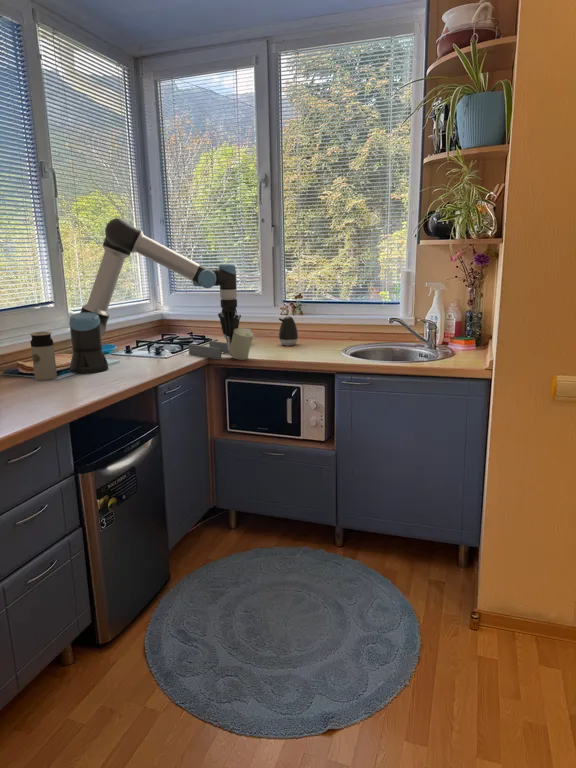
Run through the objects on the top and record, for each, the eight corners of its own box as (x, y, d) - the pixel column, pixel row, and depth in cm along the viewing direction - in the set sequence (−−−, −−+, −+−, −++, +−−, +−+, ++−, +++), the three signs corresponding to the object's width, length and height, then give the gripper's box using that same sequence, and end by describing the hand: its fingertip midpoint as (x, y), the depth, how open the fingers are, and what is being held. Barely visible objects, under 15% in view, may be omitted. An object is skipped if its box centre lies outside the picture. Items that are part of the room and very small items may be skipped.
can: (238, 361, 242) (244, 337, 236) (224, 352, 246) (229, 328, 241) (252, 357, 249) (258, 334, 244) (237, 349, 253) (243, 325, 248)
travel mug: (50, 375, 217) (45, 330, 212) (61, 378, 212) (55, 332, 207) (31, 378, 211) (25, 333, 206) (41, 381, 206) (35, 335, 202)
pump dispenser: (275, 344, 285) (274, 315, 281) (293, 342, 289) (292, 314, 286) (283, 347, 276) (282, 317, 272) (301, 345, 280) (301, 316, 277)
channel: (220, 359, 245) (219, 349, 243) (189, 354, 259) (188, 344, 257) (242, 355, 255) (241, 345, 254) (211, 350, 269) (210, 340, 268)
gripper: (244, 298, 243) (246, 350, 249) (224, 297, 251) (227, 347, 257) (232, 300, 237) (234, 352, 243) (212, 298, 245) (215, 349, 251)
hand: (230, 349), depth 250 cm, fingers closed
